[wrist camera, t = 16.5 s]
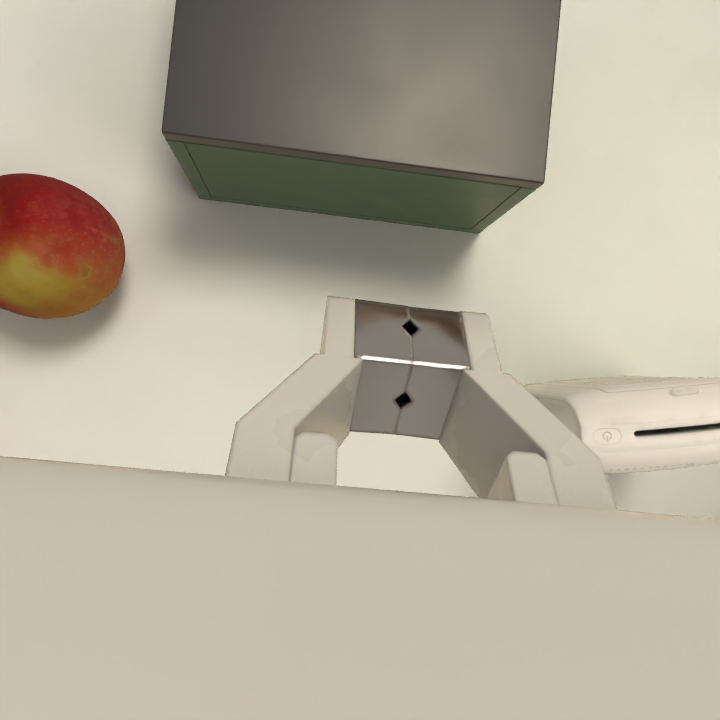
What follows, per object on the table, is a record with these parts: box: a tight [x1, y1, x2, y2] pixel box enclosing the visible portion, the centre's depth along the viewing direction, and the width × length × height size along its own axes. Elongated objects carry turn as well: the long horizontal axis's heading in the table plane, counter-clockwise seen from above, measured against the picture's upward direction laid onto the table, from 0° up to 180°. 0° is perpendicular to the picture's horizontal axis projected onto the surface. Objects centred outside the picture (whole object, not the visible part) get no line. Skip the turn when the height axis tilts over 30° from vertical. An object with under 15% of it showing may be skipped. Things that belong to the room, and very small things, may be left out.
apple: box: [0, 173, 125, 319], centre depth 34 cm, size 8×8×8 cm
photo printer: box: [523, 376, 720, 473], centre depth 34 cm, size 10×4×12 cm, turn 94°
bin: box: [166, 139, 536, 233], centre depth 35 cm, size 15×18×10 cm
